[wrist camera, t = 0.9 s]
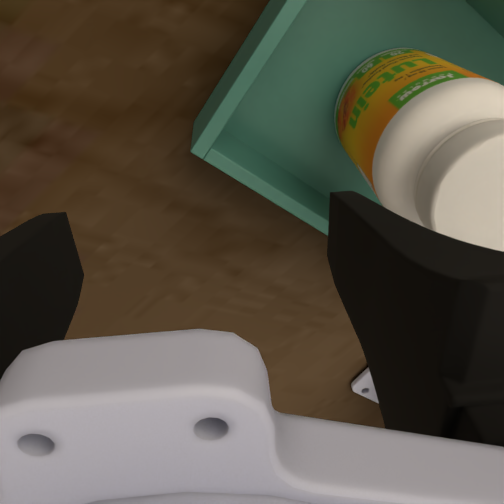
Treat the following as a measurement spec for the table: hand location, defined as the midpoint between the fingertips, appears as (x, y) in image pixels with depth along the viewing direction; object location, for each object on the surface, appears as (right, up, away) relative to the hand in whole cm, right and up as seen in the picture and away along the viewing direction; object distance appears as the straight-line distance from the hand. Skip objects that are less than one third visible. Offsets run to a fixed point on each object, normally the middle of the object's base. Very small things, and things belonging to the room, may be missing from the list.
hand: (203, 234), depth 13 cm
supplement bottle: (+8, +6, +9) cm, 13 cm away
